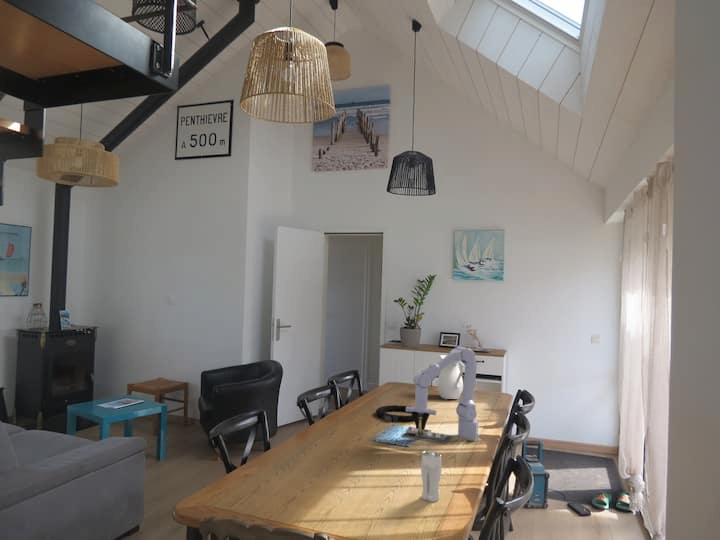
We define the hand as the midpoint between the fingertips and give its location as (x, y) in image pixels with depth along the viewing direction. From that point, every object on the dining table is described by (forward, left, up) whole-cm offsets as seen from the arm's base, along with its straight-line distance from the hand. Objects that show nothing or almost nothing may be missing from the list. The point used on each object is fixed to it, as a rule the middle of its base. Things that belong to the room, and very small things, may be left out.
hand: (420, 428), depth 242 cm
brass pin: (0, 0, -3) cm, 3 cm away
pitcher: (+9, -100, -6) cm, 101 cm away
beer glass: (-23, +63, -6) cm, 67 cm away
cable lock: (+24, -38, -6) cm, 46 cm away
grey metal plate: (-1, -5, -5) cm, 7 cm away
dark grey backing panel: (-2, -5, -6) cm, 8 cm away
